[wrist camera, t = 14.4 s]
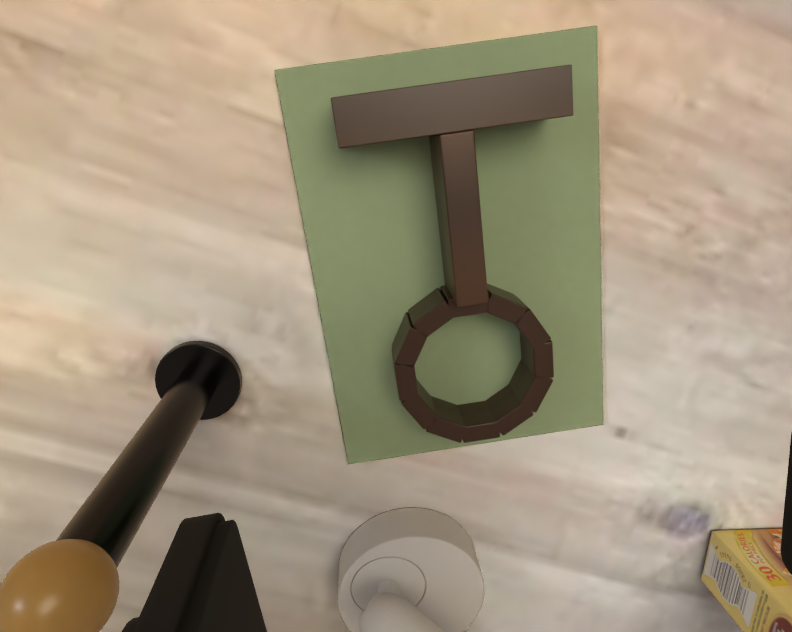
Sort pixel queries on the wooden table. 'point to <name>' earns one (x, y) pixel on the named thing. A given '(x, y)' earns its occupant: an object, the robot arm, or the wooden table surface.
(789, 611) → the candy box
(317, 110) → the felt mat
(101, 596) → the peg stand
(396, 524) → the wall hook
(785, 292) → the wooden table surface
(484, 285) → the hanger
